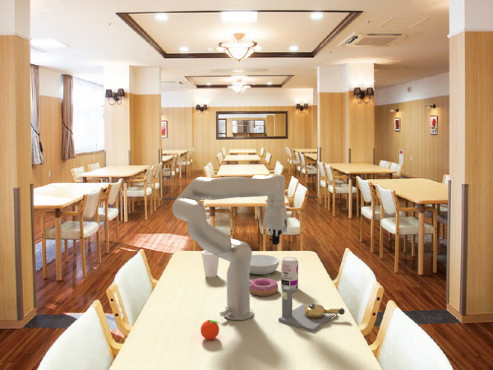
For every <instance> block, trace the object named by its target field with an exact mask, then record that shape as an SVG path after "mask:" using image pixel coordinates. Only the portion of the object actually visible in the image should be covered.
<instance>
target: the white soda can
mask: <svg viewBox="0 0 493 370" xmlns="http://www.w3.org/2000/svg"><path fill="white" fill-rule="evenodd" d="M280 263H281V265H280V267H281V269H280V271H281V272H280V274H281V275H280V279H281V280H280V282H281V283H280V286H281V289H282V288H284V287H286V286H288V287H291V288H292V292H295V291H297V290H298V288H299V261H298V259H297V257H293V256H286V257H283V258H282V259H281V262H280Z"/></svg>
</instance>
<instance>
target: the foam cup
mask: <svg viewBox="0 0 493 370" xmlns="http://www.w3.org/2000/svg"><path fill="white" fill-rule="evenodd" d="M201 258H202V264H203V270H204V271H203V272H204V276H205V277H206V278H216V277H218V270H219V262H220V257H218V256H216V255H214V254H212V253H210V252H208V251H206V250H204V249H203V250H202V251H201Z"/></svg>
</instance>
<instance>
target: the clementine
mask: <svg viewBox="0 0 493 370" xmlns="http://www.w3.org/2000/svg"><path fill="white" fill-rule="evenodd" d="M219 325H220V326H222V324H221V323H220V322H219V321H217V320H213V319H208V320H205V321H204V322H203V323H202V324H201V327H200V334H201V336H202V337H203V338H204V339H206V340H209V341H211V340H214V339H216V338H217V337H218V335H219V332H220V326H219Z"/></svg>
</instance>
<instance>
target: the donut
mask: <svg viewBox="0 0 493 370" xmlns="http://www.w3.org/2000/svg"><path fill="white" fill-rule="evenodd" d="M278 290H279V283H278V282H277V281H276V280H275V279H272V278H267V277H266V278H264V277H263V278H261V277H259V278H253V279H252V280H250V294H252V295H254V296H258V297H270V296H273V295H275V294H277V292H278Z"/></svg>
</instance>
